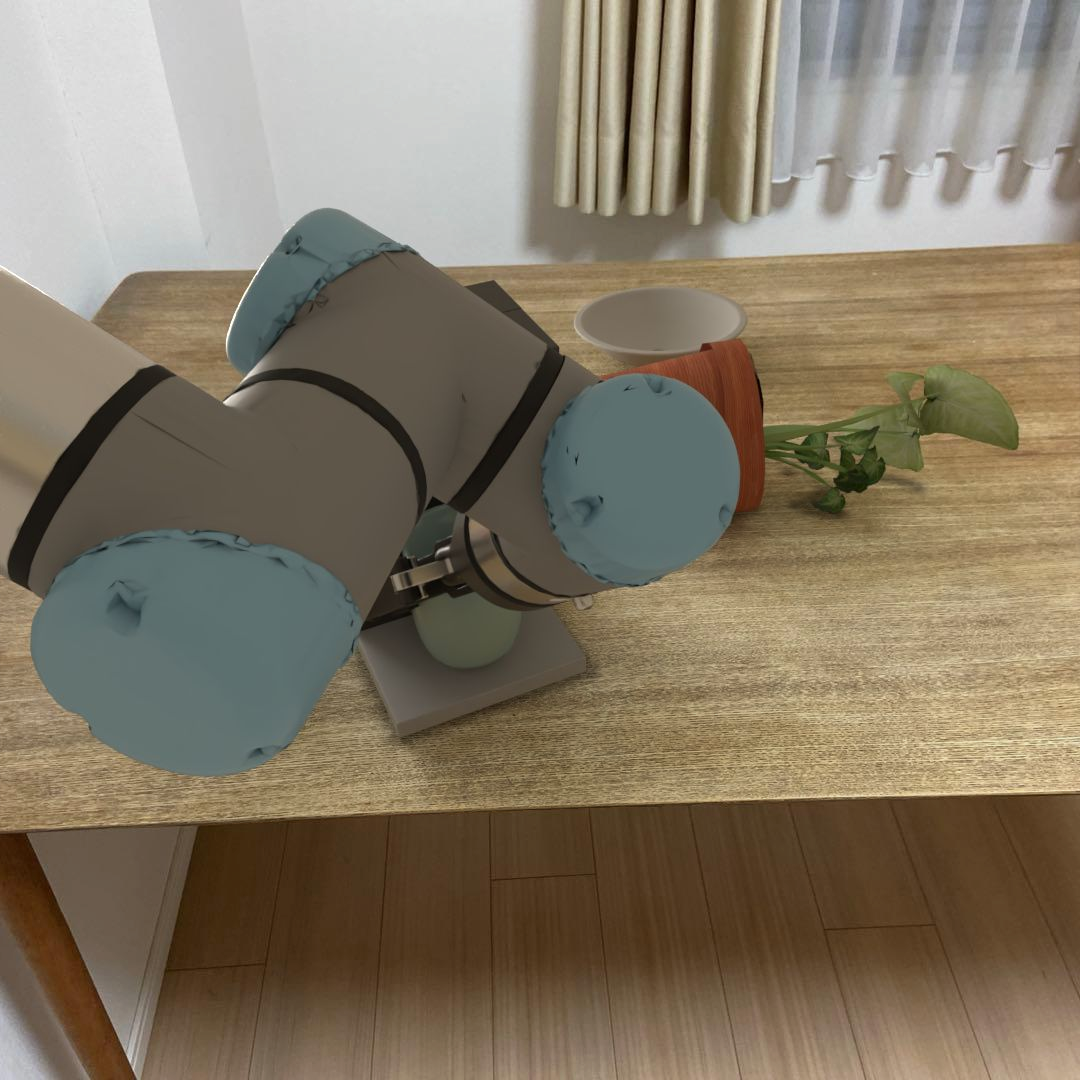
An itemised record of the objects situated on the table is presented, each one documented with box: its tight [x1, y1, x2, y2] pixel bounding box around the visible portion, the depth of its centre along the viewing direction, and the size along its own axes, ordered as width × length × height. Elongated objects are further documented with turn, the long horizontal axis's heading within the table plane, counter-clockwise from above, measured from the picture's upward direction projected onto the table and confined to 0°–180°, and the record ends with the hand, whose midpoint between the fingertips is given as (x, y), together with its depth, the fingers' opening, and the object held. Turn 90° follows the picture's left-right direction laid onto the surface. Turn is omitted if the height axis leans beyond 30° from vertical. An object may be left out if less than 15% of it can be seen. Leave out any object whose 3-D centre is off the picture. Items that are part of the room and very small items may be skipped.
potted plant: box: [598, 338, 1020, 514], centre depth 84 cm, size 16×15×35 cm
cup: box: [402, 504, 522, 669], centre depth 69 cm, size 8×8×10 cm
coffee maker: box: [357, 279, 587, 739], centre depth 67 cm, size 14×14×24 cm
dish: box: [573, 285, 748, 367], centre depth 104 cm, size 18×14×5 cm
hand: (449, 578), depth 72 cm, fingers closed on cup, 8 cm apart
